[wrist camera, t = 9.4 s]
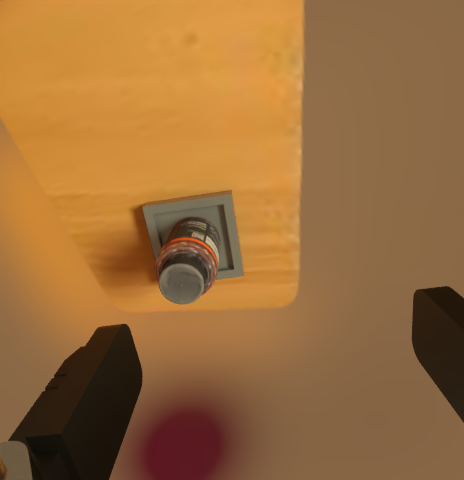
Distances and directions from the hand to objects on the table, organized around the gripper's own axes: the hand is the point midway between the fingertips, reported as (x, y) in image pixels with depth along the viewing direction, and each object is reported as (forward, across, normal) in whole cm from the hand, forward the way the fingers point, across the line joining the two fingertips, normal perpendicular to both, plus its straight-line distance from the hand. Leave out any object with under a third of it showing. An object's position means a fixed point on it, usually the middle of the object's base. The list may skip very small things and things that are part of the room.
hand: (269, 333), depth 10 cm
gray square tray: (+30, +7, +7) cm, 32 cm away
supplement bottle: (+29, +7, +7) cm, 31 cm away
